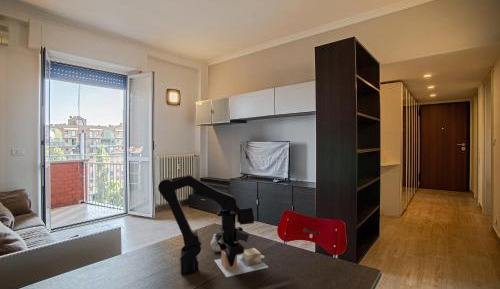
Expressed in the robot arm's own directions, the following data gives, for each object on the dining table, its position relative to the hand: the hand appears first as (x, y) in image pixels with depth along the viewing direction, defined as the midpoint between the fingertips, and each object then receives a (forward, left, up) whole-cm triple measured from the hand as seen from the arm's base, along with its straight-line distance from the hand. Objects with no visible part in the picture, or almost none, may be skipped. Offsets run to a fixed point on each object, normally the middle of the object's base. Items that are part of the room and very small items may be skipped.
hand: (229, 263), depth 108 cm
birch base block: (+10, 0, -1) cm, 10 cm away
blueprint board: (+5, 0, -2) cm, 5 cm away
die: (+2, +18, -2) cm, 18 cm away
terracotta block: (0, 0, -1) cm, 1 cm away
